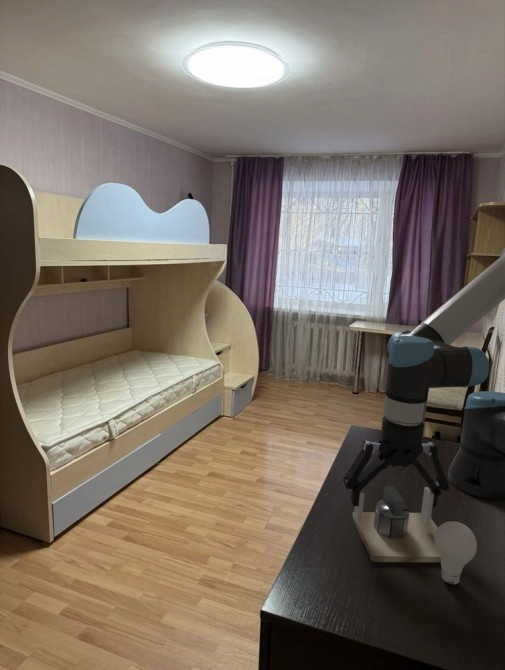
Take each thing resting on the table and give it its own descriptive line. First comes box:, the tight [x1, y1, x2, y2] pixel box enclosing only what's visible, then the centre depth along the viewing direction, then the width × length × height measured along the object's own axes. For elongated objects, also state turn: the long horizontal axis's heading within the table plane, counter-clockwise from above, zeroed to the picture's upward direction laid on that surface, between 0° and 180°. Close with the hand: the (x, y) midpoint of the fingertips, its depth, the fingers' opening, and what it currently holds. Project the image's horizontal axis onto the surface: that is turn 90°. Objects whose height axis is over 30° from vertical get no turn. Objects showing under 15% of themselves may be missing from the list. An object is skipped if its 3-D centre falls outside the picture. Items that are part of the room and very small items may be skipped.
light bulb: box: [434, 520, 478, 585], centre depth 80 cm, size 7×7×11 cm
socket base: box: [351, 511, 441, 563], centre depth 92 cm, size 16×14×4 cm
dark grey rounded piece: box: [374, 485, 410, 539], centre depth 92 cm, size 6×6×8 cm
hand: (391, 520), depth 92 cm, fingers open, 13 cm apart
